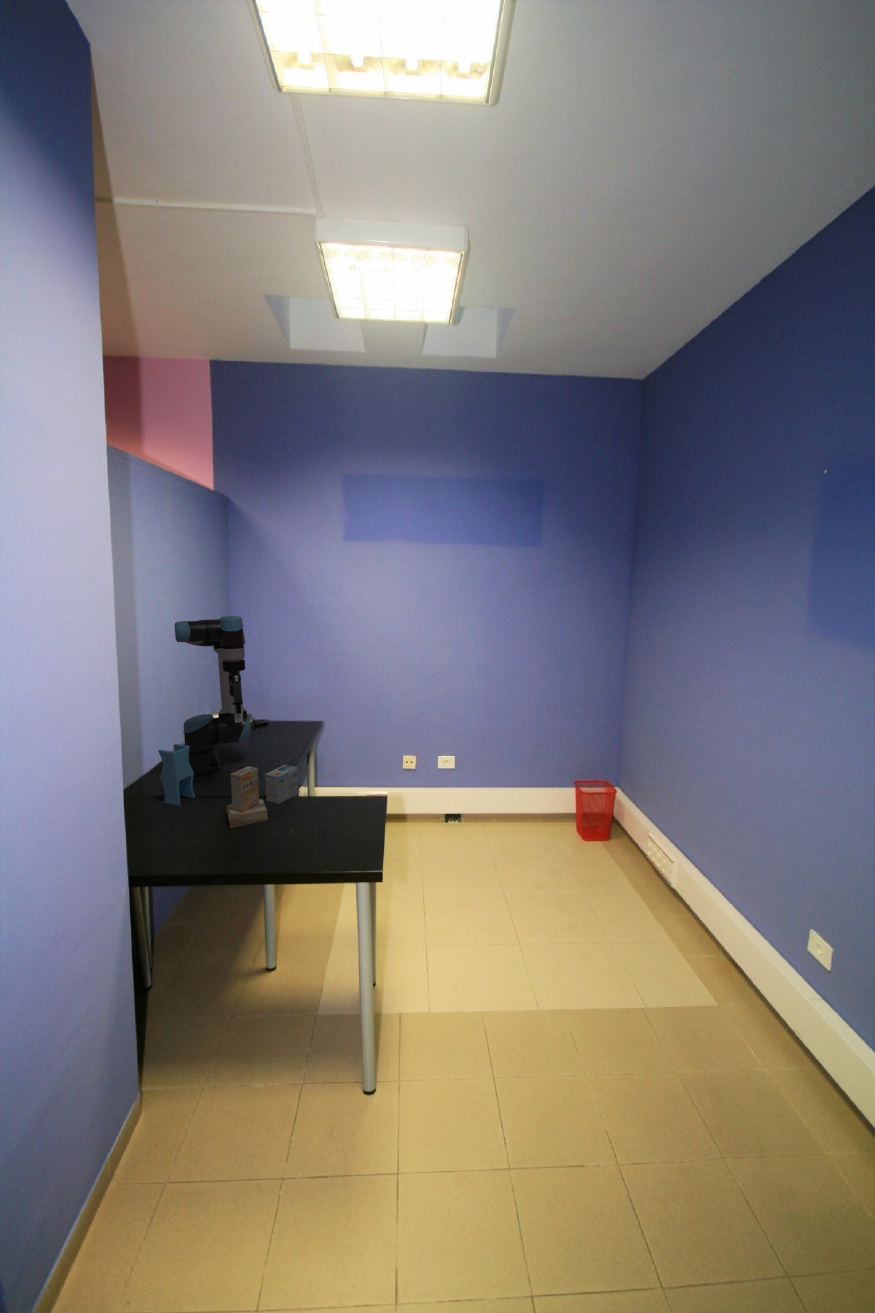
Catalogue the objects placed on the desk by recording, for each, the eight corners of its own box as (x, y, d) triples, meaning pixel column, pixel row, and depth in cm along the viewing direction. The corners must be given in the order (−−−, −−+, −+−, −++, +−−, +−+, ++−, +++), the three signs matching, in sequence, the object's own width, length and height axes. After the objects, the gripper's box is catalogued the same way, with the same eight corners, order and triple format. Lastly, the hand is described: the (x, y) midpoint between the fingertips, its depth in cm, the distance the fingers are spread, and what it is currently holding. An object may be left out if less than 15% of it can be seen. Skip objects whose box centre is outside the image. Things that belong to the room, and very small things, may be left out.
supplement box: (243, 813, 174) (240, 775, 172) (232, 810, 176) (229, 773, 174) (260, 803, 182) (258, 767, 180) (249, 800, 183) (247, 765, 181)
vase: (179, 794, 199) (175, 743, 196) (195, 796, 196) (191, 746, 193) (162, 802, 192) (157, 750, 188) (178, 805, 189) (174, 752, 186)
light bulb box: (285, 790, 202) (284, 764, 201) (299, 793, 199) (298, 766, 198) (265, 801, 193) (264, 773, 191) (279, 804, 190) (278, 776, 188)
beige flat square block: (227, 815, 181) (226, 804, 180) (263, 808, 186) (262, 798, 186) (230, 827, 172) (229, 816, 172) (267, 820, 178) (267, 809, 177)
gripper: (219, 655, 195) (223, 710, 198) (225, 665, 173) (229, 727, 176) (240, 654, 198) (243, 708, 201) (249, 664, 176) (252, 724, 179)
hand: (237, 717), depth 189 cm, fingers open, 13 cm apart
